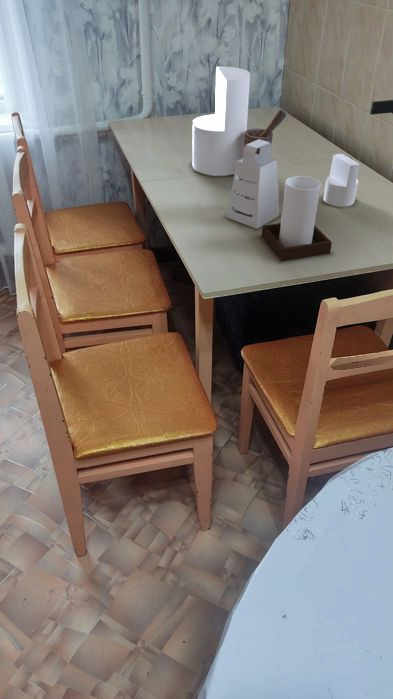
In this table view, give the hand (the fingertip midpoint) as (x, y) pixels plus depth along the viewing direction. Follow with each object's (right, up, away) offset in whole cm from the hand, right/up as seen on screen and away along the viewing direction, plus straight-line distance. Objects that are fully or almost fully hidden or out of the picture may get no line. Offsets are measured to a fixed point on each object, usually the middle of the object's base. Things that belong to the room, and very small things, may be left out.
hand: (387, 116), depth 124 cm
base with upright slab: (-2, -9, +36) cm, 37 cm away
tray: (-19, -26, +15) cm, 36 cm away
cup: (-18, -26, +15) cm, 35 cm away
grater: (-28, -16, +27) cm, 42 cm away
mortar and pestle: (-23, +3, +51) cm, 56 cm away
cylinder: (-36, +8, +56) cm, 67 cm away
